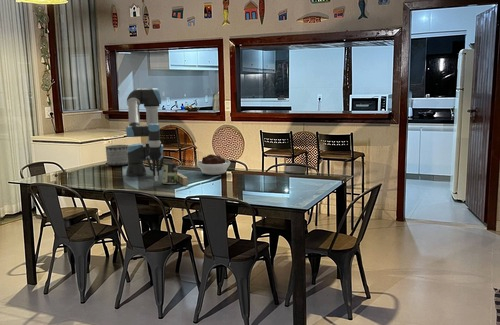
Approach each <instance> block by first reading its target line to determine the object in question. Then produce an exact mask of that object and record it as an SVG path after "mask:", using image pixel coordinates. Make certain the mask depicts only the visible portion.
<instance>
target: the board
mask: <svg viewBox="0 0 500 325" xmlns="http://www.w3.org/2000/svg"><path fill="white" fill-rule="evenodd" d="M188 180H189V178H188V176H185V175H183V174H182V173H180V172H178V171H177V183H179V184H181V185H182V186H188V185H189V181H188Z"/></svg>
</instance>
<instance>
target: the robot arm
mask: <svg viewBox="0 0 500 325" xmlns="http://www.w3.org/2000/svg"><path fill="white" fill-rule="evenodd" d="M161 99H162V96H161V94H160V90H159V88H156V87H155V88H154V87H153V88H152V87H151V88H148V87H147V88H136V89H134V90H132V91H131V92H130V93H129V94H128V95H127V98H126V105H127V106H128V125H127V126H125V129H126V130H125V132H126V134H125V135H126V137H127V138H138V137H139V138H140V137H145V138H146V137H147V139H146V142H145V144H144V143H141V142H139V143H133V144H130V145H129V146H128V147H127V153H128V164H127V168H126V171H125V174H126V176H127V177H141V176H146V175H147V169H146V166H145V164H144V163H145V162H144V161H147V164H148V167H149V171H150V172H152V176H153V177H154V181H155V182H158V181H159V176H160V171H162V170H163V162H164V159H165V158H166V157H165V156H164V155H163V154H164V153H163V152H164V144H162V141H161V132H160V131H161V130H160V128H161V127H160V123H159V113H158V112H159V108H160V105H161V104H162V100H161ZM141 105H143V107H144V109H145V111H146V112H145V115H146V117H145V118H146V125H141V120H140V118H141V116H140V106H141ZM159 160H160V161H159ZM151 161H152V163H151Z"/></svg>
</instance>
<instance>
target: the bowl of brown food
mask: <svg viewBox="0 0 500 325" xmlns="http://www.w3.org/2000/svg"><path fill="white" fill-rule="evenodd" d="M196 164H197V166H198V168H199V169H200V170H201V173H203V174H205V175H209V176H219V175H223V174H225V173H226V172H227V170H228V168H229V166H230V165H231V161H230V160H229V159H225V158H224V157H221V155H218V154H217V155H215V154H211V153H210V154H208V155H206V156H203V157H202V160H198V161H197V162H196Z"/></svg>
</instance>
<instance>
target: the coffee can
mask: <svg viewBox="0 0 500 325" xmlns="http://www.w3.org/2000/svg"><path fill="white" fill-rule="evenodd" d="M178 166H179V163H178V162H177V161H176V162H175V161H163V164H162V175H161V176H162V177H161V183H162V184H164V185H165V184H166V185H176V184H178V181H177V172H178Z"/></svg>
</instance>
